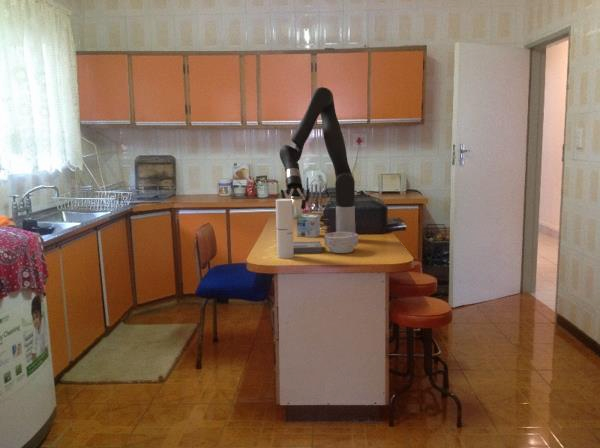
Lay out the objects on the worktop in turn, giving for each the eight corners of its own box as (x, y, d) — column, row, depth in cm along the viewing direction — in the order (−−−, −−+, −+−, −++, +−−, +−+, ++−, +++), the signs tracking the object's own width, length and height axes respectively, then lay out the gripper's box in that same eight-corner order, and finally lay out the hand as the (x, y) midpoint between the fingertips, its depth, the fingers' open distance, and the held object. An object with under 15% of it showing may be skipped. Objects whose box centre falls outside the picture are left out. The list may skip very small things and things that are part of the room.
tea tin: (300, 216, 255) (299, 195, 253) (304, 218, 250) (304, 196, 248) (288, 217, 253) (288, 196, 251) (293, 219, 248) (292, 197, 246)
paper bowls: (324, 248, 254) (324, 231, 253) (357, 247, 254) (356, 230, 253) (324, 255, 239) (324, 237, 238) (359, 255, 239) (359, 237, 238)
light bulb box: (296, 236, 283) (296, 216, 281) (301, 234, 289) (301, 214, 287) (315, 237, 279) (315, 216, 277) (320, 235, 285) (320, 214, 283)
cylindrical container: (277, 254, 242) (275, 199, 238) (293, 254, 243) (291, 198, 238) (277, 258, 235) (276, 201, 231) (294, 258, 236) (292, 200, 231)
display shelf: (320, 246, 257) (320, 238, 257) (321, 252, 244) (321, 244, 244) (284, 247, 257) (284, 239, 257) (283, 253, 244) (283, 244, 244)
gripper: (278, 175, 254) (281, 204, 245) (309, 174, 256) (313, 202, 247) (277, 185, 260) (280, 213, 251) (307, 184, 262) (311, 212, 253)
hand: (297, 208), depth 249 cm, fingers closed on tea tin, 5 cm apart
